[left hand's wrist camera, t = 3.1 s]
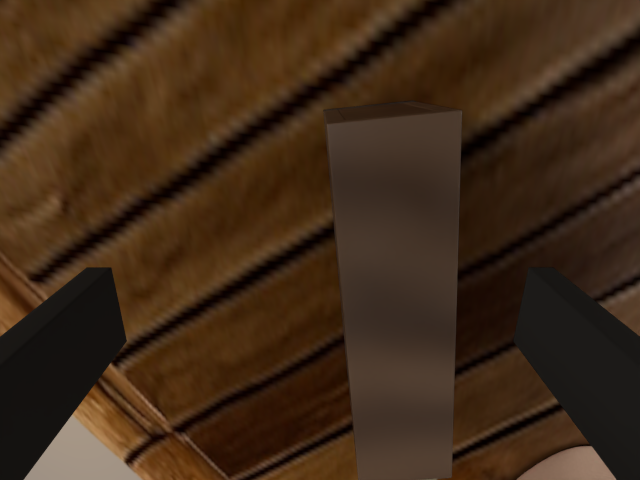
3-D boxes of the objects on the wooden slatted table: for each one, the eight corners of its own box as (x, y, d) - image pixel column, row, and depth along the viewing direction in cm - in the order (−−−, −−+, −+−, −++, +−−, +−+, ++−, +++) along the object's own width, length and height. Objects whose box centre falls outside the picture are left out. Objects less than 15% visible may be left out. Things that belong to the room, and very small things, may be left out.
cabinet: (416, 373, 34) (452, 478, 25) (348, 379, 34) (358, 485, 25) (412, 100, 26) (463, 109, 17) (323, 109, 26) (326, 123, 17)
